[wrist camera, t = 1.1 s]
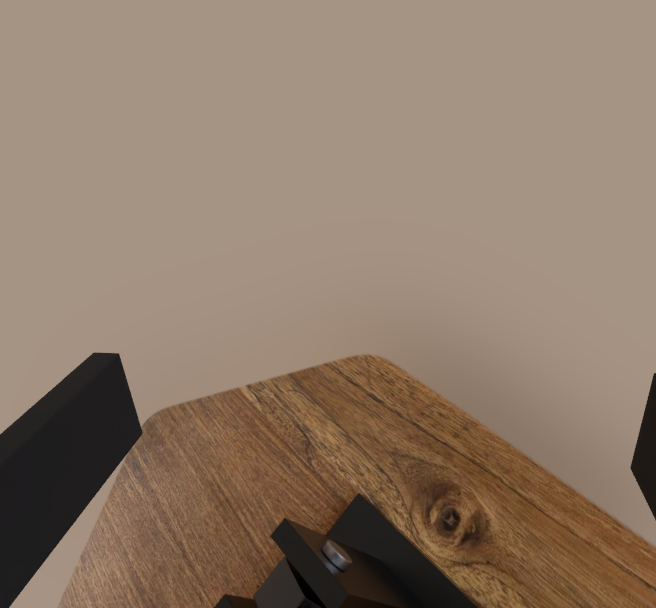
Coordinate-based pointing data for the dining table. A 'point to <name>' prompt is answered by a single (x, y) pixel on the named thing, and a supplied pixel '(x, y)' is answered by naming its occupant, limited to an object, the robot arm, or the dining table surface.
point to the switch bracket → (363, 565)
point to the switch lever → (286, 589)
